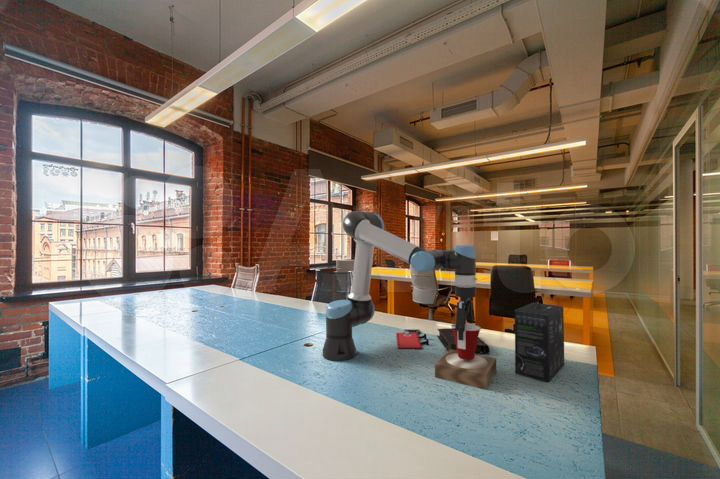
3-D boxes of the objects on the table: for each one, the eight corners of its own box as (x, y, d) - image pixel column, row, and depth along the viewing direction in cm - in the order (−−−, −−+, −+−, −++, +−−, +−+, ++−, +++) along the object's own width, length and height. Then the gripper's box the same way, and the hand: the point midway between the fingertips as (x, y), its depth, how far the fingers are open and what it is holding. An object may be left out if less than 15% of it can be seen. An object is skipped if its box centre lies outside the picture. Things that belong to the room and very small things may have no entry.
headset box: (532, 357, 133) (531, 297, 133) (565, 365, 124) (564, 300, 124) (513, 373, 117) (512, 305, 117) (549, 383, 109) (548, 310, 109)
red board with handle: (422, 331, 173) (395, 331, 174) (422, 326, 173) (395, 326, 174) (430, 351, 143) (398, 350, 144) (430, 344, 143) (397, 344, 144)
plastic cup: (482, 354, 120) (482, 323, 120) (480, 364, 110) (480, 330, 110) (453, 350, 124) (453, 320, 124) (449, 359, 114) (448, 327, 114)
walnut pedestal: (435, 377, 115) (434, 363, 115) (450, 361, 130) (450, 348, 130) (486, 389, 105) (486, 374, 105) (496, 370, 119) (496, 357, 119)
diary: (471, 338, 162) (471, 328, 162) (489, 355, 137) (489, 344, 137) (435, 337, 163) (435, 327, 163) (447, 355, 138) (447, 343, 138)
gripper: (467, 291, 105) (467, 355, 105) (482, 282, 125) (483, 337, 125) (445, 289, 110) (446, 351, 110) (463, 281, 129) (464, 334, 129)
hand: (465, 344), depth 117 cm, fingers closed on plastic cup, 11 cm apart
